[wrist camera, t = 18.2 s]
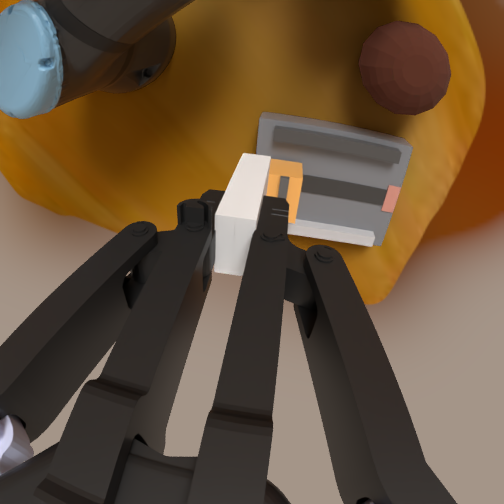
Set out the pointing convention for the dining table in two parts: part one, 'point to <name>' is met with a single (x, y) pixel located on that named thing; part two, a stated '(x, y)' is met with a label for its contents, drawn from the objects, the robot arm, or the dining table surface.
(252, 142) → the dining table surface
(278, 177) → the breaker toggle
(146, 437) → the robot arm
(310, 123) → the breaker panel
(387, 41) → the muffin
